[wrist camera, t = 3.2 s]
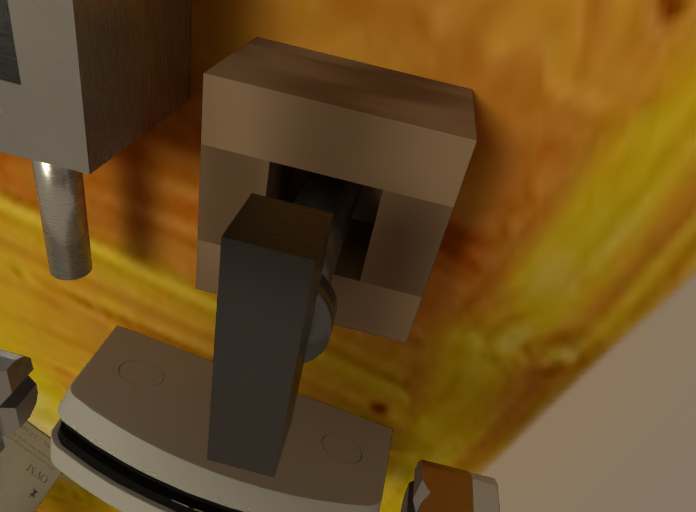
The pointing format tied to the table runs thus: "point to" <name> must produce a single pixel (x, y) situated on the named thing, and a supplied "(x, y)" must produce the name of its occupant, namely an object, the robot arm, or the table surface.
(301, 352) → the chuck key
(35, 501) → the skincare box
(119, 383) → the grey curved-top slotted block
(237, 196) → the brown square ring block
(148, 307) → the table surface
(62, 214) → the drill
